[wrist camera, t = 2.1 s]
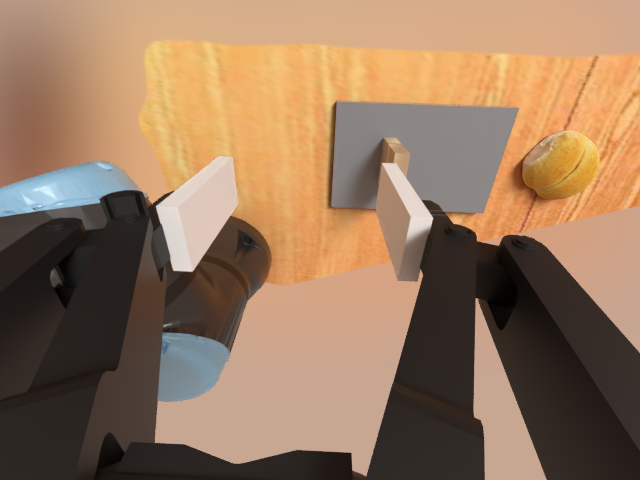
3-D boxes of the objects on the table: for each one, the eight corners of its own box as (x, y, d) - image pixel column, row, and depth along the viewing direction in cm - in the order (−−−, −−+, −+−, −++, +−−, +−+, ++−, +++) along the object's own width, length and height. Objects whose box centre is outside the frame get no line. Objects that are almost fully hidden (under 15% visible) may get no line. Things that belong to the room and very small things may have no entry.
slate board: (331, 203, 44) (331, 207, 43) (336, 100, 37) (336, 101, 36) (479, 209, 44) (483, 213, 43) (513, 106, 37) (519, 108, 36)
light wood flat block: (377, 182, 41) (386, 205, 34) (383, 137, 38) (395, 153, 31) (389, 182, 41) (401, 206, 34) (396, 138, 38) (410, 153, 31)
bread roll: (549, 204, 43) (568, 216, 40) (507, 170, 41) (523, 180, 38) (603, 157, 40) (629, 165, 36) (561, 117, 37) (585, 122, 34)
